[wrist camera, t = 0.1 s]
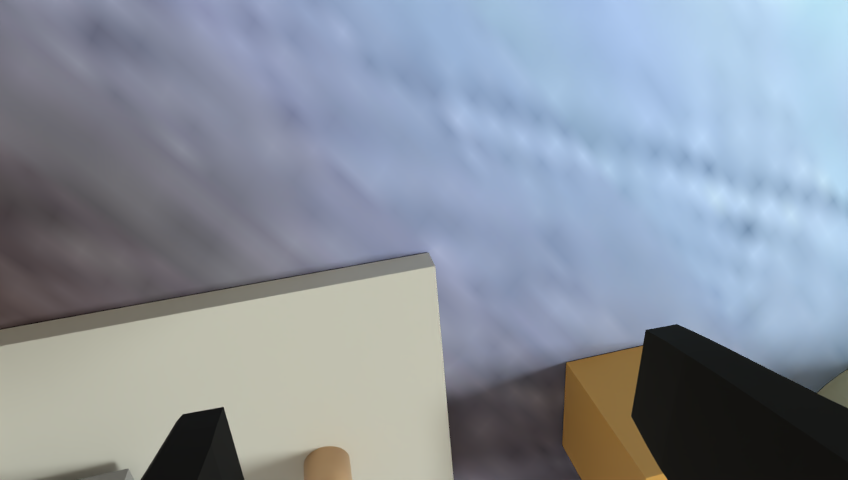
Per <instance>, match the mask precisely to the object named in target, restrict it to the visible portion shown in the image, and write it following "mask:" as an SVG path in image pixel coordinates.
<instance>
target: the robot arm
mask: <svg viewBox="0 0 848 480" xmlns="http://www.w3.org/2000/svg"><path fill="white" fill-rule="evenodd" d="M631 417H632V419H633V421H634V423H635V425H636V426H637V428H638V430H639V432H640V434H641V436H642V438H643V440H644V442H645V443H646V445H647V447H648V449H649V450H650V452H651V454H652V456H653V457H654V459H655V461H656V463H657V464H658V466H659V468H660V469H661V471H662V472H663V474H664V475H665V477H666V478H667V480H848V408H847V407H845V406H842V405H840V404H838V403H836V402H834V401H832V400H830V399H828V398H826V397H824V396H822V395H819V394H817V393H815V392H813V391H811V390H809V389H807V388H805V387H803V386H801V385H799V384H797V383H795V382H793V381H791V380H789V379H787V378H785V377H783V376H781V375H779V374H777V373H775V372H773V371H771V370H769V369H767V368H765V367H763V366H761V365H759V364H757V363H755V362H753V361H751V360H750V359H748V358H746V357H744V356H742V355H740V354H738V353H736V352H734V351H732V350H730V349H728V348H726V347H724V346H722V345H720V344H718V343H716V342H714V341H712V340H710V339H708V338H706V337H704V336H702V335H699V334H697V333H695V332H693V331H691V330H689V329H686V328H684V327H682V326H679V325H677V324H676V325H671V326H665V327H660V328H654V329H649V330H646V332H645V338H644V343H643V349H642V355H641V361H640V367H639V373H638V378H637V384H636V390H635V396H634V402H633V408H632V413H631ZM141 480H244V476H243V473H242V469H241V466H240V462H239V459H238V455H237V452H236V448H235V445H234V441H233V438H232V434H231V431H230V428H229V424H228V421H227V417H226V414H225V410H224V407H220V408H214V409H209V410H203V411H198V412H192V413H187V414H182V416H181V417H180V418H179V419H178V420H177V421H176V423H175V425H174V426H173V428H172V430H171V431H170V433H169V435H168V436H167V438H166V439H165V441H164V443H163V444H162V446H161V448H160V449H159V451H158V452H157V454H156V456H155V457H154V459H153V461H152V462H151V464H150V465H149V467H148V469H147V470H146V472H145V473H144V475H143V477H142V478H141Z"/></svg>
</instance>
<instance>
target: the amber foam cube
mask: <svg viewBox="0 0 848 480" xmlns="http://www.w3.org/2000/svg"><path fill="white" fill-rule="evenodd" d="M642 349H643V346H640V347H635V348H630V349H626V350H621V351H617V352H612V353H608V354H603V355H599V356H594V357H589V358H585V359H580V360H576V361H571V362H567V363H566V379H565V400H564V420H563V441H562V446H563V448H564V449H565V451H566V453H567V455H568V456H569V458H570V460H571V462H572V464H573V465H574V467H575V469H576V471H577V472H578V474H579V476H580V478H581V480H667V478H666V477H665V475H664V474H663V472H662V471H661V469H660V468H659V466H658V464H657V463H656V461H655V459H654V457H653V456H652V454H651V452H650V450H649V449H648V447H647V445H646V443H645V442H644V440H643V438H642V436H641V434H640V432H639V430H638V428H637V426H636V425H635V423H634V421H633V419H632V417H631V413H632V408H633V402H634V396H635V390H636V384H637V378H638V373H639V367H640V361H641V355H642Z"/></svg>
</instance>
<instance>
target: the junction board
mask: <svg viewBox="0 0 848 480" xmlns="http://www.w3.org/2000/svg"><path fill="white" fill-rule="evenodd" d="M220 407H224V410H225V414H226V417H227V421H228V424H229V428H230V431H231V434H232V438H233V441H234V445H235V448H236V452H237V455H238V459H239V462H240V466H241V469H242V473H243V476H244V480H454V479H453V468H452V456H451V445H450V433H449V422H448V410H447V399H446V387H445V375H444V364H443V352H442V341H441V329H440V318H439V306H438V295H437V283H436V271H435V265H434V263H433V261H432V259H431V257H430V254H429V253H423V254H418V255H412V256H407V257H401V258H395V259H390V260H384V261H379V262H373V263H368V264H362V265H357V266H351V267H346V268H340V269H334V270H329V271H323V272H318V273H312V274H307V275H301V276H296V277H290V278H284V279H279V280H273V281H268V282H262V283H257V284H251V285H246V286H240V287H235V288H229V289H223V290H218V291H212V292H207V293H201V294H196V295H190V296H185V297H179V298H173V299H168V300H162V301H157V302H151V303H146V304H140V305H135V306H129V307H124V308H118V309H112V310H107V311H101V312H96V313H90V314H85V315H79V316H74V317H68V318H62V319H57V320H51V321H46V322H40V323H35V324H29V325H24V326H18V327H13V328H7V329H1V330H0V480H141V478H142V477H143V475H144V473H145V472H146V470H147V469H148V467H149V465H150V464H151V462H152V461H153V459H154V457H155V456H156V454H157V452H158V451H159V449H160V448H161V446H162V444H163V443H164V441H165V439H166V438H167V436H168V435H169V433H170V431H171V430H172V428H173V426H174V425H175V423H176V421H177V420H178V419H179V418H180V417H181V416H182V414H187V413H192V412H198V411H203V410H209V409H214V408H220Z"/></svg>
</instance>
